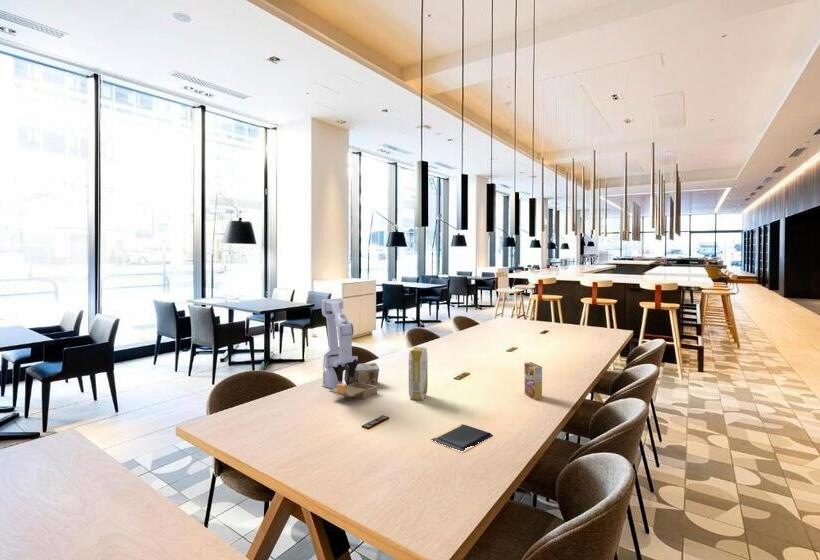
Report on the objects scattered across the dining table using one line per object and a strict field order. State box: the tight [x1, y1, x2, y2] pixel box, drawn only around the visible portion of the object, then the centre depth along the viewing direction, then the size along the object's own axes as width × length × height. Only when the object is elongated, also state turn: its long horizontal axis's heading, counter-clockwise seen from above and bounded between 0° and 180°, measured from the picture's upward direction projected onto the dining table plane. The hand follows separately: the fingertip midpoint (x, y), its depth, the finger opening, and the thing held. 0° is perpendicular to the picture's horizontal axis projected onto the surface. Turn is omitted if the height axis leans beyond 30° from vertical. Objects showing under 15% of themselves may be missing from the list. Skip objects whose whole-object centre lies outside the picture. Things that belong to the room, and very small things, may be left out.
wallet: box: [430, 423, 494, 451], centre depth 161 cm, size 20×2×15 cm
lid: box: [328, 383, 366, 398], centre depth 203 cm, size 13×10×4 cm
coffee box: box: [343, 362, 380, 385], centre depth 224 cm, size 9×6×16 cm
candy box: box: [523, 361, 543, 401], centre depth 205 cm, size 9×4×15 cm, turn 17°
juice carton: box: [408, 345, 429, 401], centre depth 204 cm, size 9×8×24 cm
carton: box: [348, 382, 378, 400], centre depth 210 cm, size 13×10×4 cm
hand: (345, 378), depth 203 cm, fingers open, 7 cm apart
